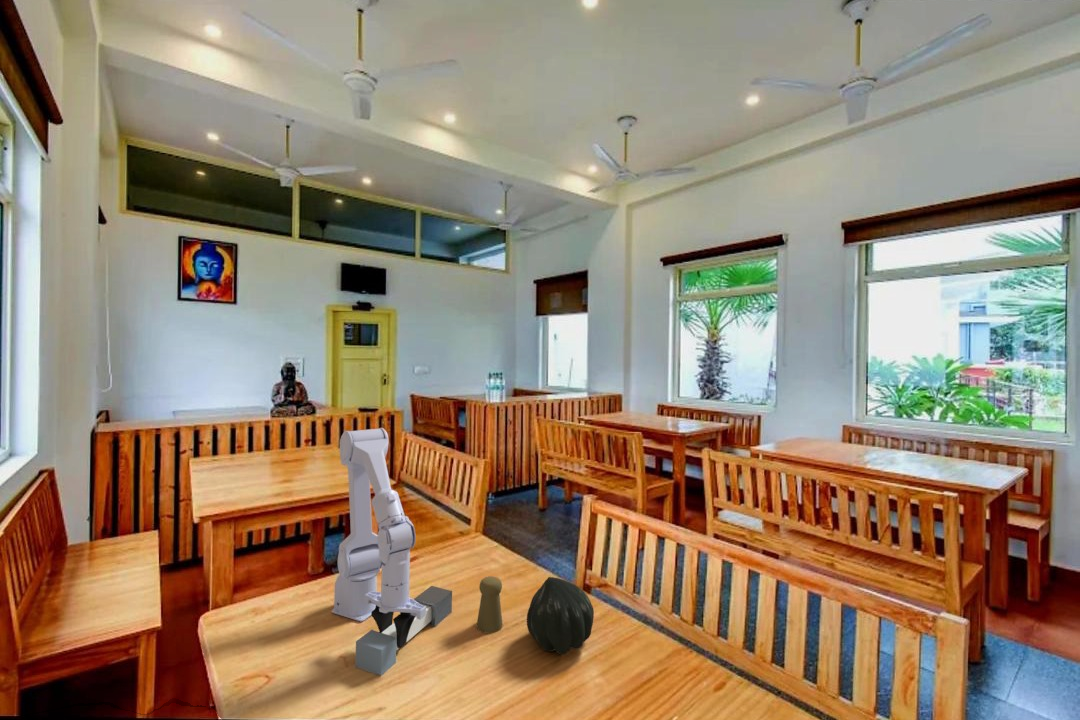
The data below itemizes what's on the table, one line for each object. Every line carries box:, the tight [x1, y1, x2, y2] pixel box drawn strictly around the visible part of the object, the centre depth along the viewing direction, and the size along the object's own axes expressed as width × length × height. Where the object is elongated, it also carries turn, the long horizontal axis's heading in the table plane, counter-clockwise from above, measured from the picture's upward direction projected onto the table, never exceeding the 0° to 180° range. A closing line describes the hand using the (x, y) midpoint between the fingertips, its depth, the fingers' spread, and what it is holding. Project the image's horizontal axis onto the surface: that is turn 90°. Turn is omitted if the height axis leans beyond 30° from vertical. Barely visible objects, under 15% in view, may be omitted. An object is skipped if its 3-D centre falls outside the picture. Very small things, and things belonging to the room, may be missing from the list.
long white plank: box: [382, 602, 433, 652], centre depth 108 cm, size 4×19×4 cm, turn 157°
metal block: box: [413, 585, 453, 627], centre depth 119 cm, size 6×7×5 cm
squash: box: [526, 576, 595, 655], centre depth 110 cm, size 14×15×15 cm
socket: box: [355, 629, 397, 677], centre depth 100 cm, size 6×4×5 cm
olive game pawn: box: [476, 575, 504, 634], centre depth 115 cm, size 6×6×11 cm
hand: (394, 642), depth 105 cm, fingers closed on long white plank, 3 cm apart
